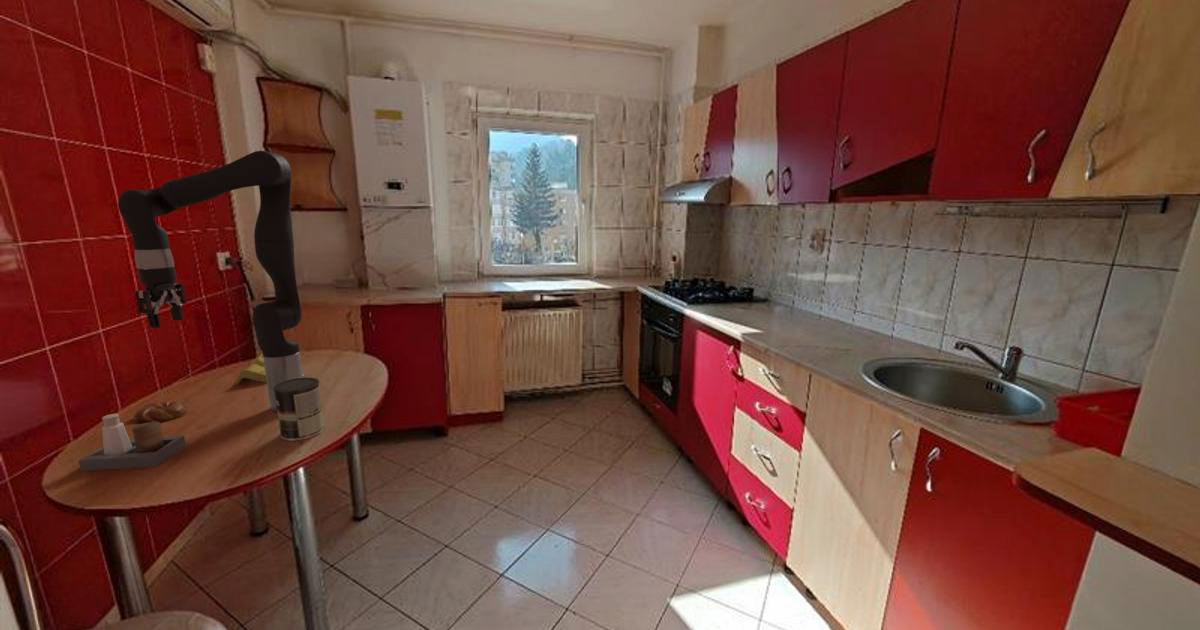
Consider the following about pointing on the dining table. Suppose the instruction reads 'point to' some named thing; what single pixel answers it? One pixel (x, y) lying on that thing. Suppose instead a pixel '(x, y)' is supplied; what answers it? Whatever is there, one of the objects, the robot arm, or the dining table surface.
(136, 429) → the fitted dowel
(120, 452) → the salt shaker
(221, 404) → the dining table surface
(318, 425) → the coffee can
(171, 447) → the grey rectangular open block
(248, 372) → the plastic component
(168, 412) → the bread roll
